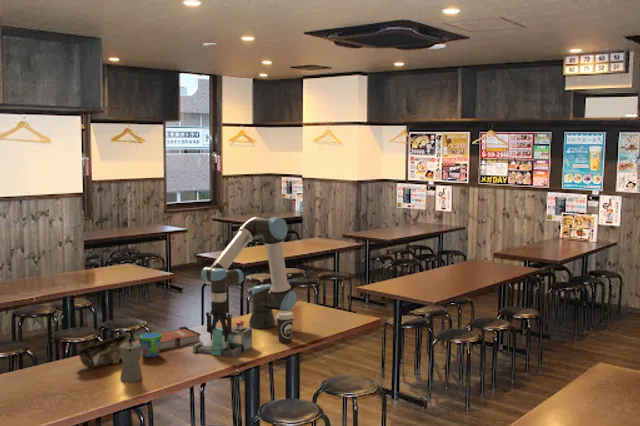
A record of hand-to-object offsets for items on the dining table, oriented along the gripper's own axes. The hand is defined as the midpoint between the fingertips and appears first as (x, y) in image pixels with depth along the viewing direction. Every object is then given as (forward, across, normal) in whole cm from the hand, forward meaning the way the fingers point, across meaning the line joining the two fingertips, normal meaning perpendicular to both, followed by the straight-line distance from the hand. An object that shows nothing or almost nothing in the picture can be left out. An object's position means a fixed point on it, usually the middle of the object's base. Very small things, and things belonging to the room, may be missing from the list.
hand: (219, 347), depth 319 cm
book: (+4, -32, +6) cm, 33 cm away
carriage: (+3, 0, 0) cm, 3 cm away
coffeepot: (+4, -19, -44) cm, 48 cm away
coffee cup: (+3, +22, +29) cm, 37 cm away
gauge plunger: (-5, +6, +9) cm, 12 cm away
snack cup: (+3, -29, -15) cm, 33 cm away
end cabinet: (+3, +6, +9) cm, 12 cm away
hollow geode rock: (+4, -43, -32) cm, 54 cm away
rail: (+3, -1, 0) cm, 3 cm away
